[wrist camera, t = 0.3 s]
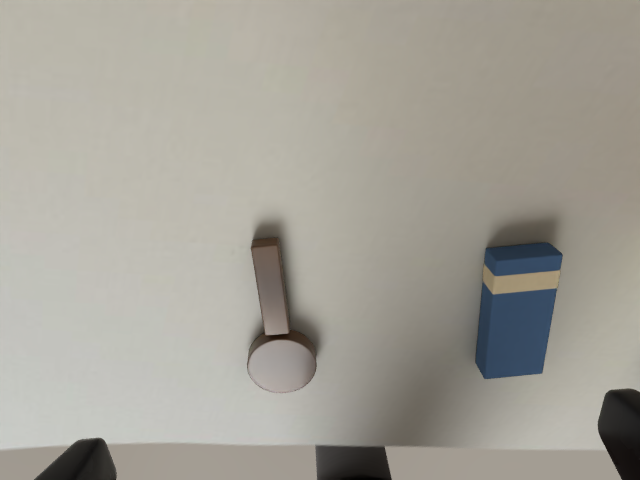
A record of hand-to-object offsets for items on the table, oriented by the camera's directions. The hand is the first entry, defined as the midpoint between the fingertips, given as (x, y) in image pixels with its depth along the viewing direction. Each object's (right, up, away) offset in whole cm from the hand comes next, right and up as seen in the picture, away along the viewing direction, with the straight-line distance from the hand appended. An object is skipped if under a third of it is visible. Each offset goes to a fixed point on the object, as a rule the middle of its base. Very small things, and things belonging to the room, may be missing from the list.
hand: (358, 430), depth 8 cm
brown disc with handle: (-3, -1, +18) cm, 18 cm away
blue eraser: (+10, 0, +18) cm, 21 cm away
